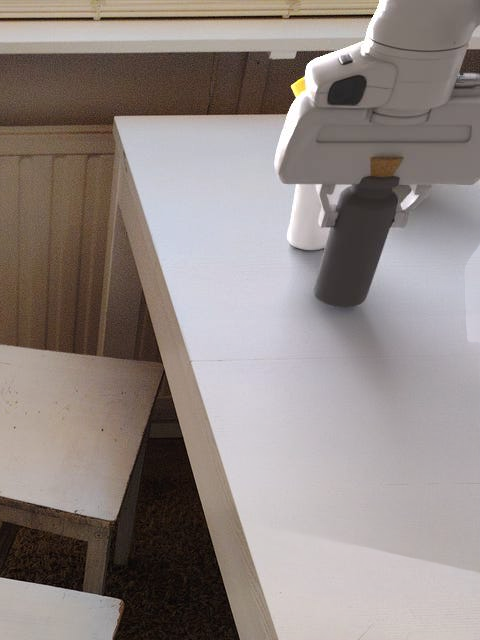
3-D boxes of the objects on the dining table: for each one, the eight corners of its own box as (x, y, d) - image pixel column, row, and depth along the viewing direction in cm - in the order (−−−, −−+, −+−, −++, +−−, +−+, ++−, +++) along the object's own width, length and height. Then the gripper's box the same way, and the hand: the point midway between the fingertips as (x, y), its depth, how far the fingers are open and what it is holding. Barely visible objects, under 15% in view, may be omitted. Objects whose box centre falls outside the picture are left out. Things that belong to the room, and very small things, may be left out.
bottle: (364, 311, 90) (413, 164, 79) (309, 303, 92) (350, 158, 80) (368, 285, 94) (416, 141, 82) (315, 278, 95) (355, 135, 84)
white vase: (333, 258, 100) (374, 120, 88) (276, 251, 101) (309, 114, 90) (337, 233, 104) (377, 98, 92) (283, 227, 105) (315, 93, 94)
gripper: (512, 61, 77) (453, 212, 88) (291, 63, 79) (260, 211, 90) (534, 84, 73) (470, 240, 84) (300, 85, 75) (267, 238, 86)
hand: (360, 225), depth 87 cm, fingers closed on bottle, 6 cm apart
